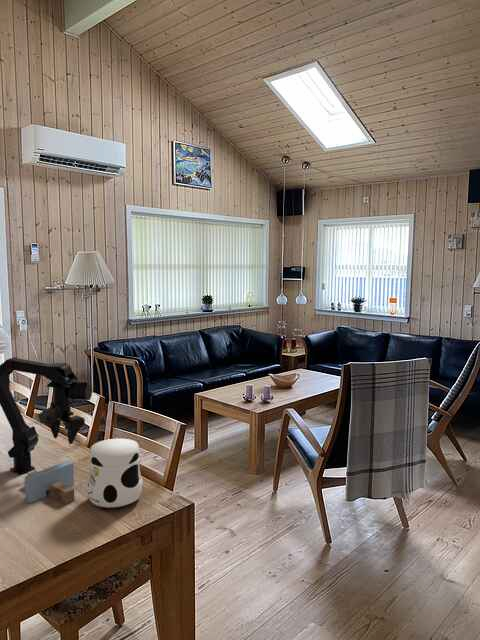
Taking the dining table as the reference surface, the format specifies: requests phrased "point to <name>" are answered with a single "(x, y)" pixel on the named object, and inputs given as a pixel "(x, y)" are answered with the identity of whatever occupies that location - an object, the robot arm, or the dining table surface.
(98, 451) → the milk container
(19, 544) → the dining table surface
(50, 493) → the brown wooden bar
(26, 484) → the blue long flat plate
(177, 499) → the dining table surface
